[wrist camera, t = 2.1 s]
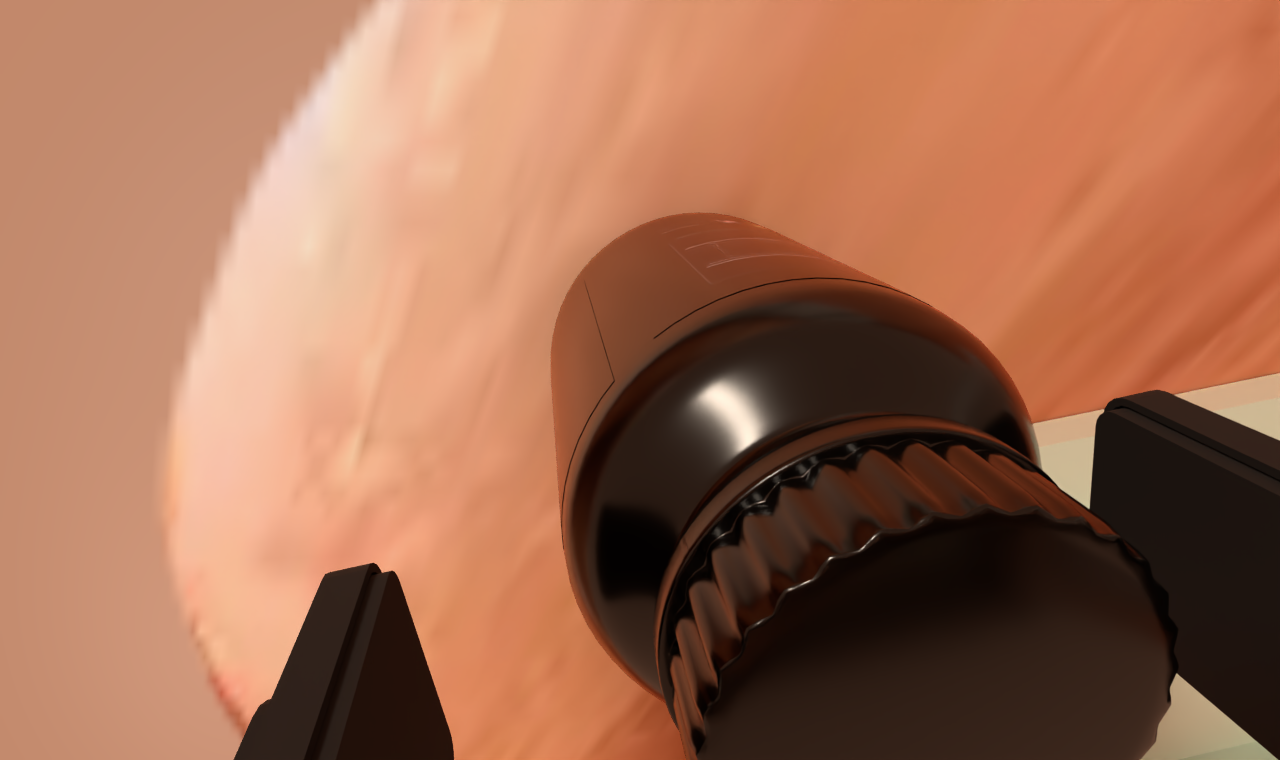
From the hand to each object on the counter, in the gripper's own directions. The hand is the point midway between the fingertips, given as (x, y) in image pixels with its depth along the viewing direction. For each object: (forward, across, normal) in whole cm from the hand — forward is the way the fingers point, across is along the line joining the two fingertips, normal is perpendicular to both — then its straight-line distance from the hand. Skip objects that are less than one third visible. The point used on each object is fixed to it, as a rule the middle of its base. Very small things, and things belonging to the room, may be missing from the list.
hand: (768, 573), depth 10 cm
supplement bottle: (+9, -1, 0) cm, 9 cm away
